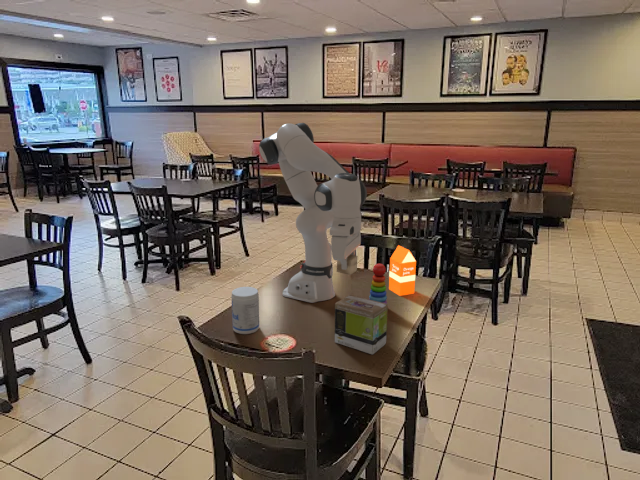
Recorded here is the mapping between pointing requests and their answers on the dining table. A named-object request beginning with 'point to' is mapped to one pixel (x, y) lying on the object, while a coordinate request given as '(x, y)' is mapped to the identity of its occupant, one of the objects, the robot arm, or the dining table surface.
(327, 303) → the dining table surface
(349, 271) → the birch cube
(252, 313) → the supplement tub
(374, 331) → the tea box
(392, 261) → the orange juice
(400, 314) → the dining table surface
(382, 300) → the stacking toy
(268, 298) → the dining table surface
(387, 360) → the dining table surface
